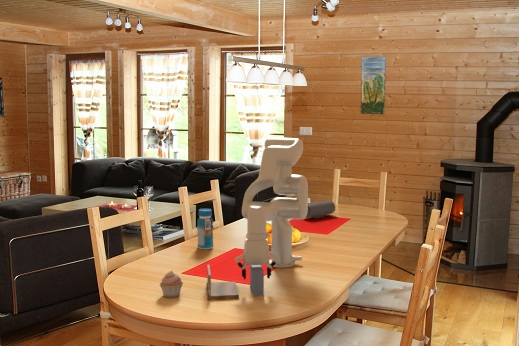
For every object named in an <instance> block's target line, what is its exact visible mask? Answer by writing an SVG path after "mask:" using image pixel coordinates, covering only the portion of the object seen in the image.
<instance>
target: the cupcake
mask: <svg viewBox="0 0 519 346" xmlns="http://www.w3.org/2000/svg"><path fill="white" fill-rule="evenodd" d="M183 284H184V282H182V278H181V277H180V276H179V275H178V274H176V273H174V272H173V270H170V271H168V272H167V273H166V274H165V275H164V276H163V277H162V279H161V282H160V283H159V287H160V288H161V291H162V295H163V296H164V297H165V298H169V299H170V298H171V299H173V298H174V299H175V298H177V297H179V296H180V294H181V292H182V291H181V290H182V287H183Z"/></svg>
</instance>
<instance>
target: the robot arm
mask: <svg viewBox="0 0 519 346" xmlns="http://www.w3.org/2000/svg"><path fill="white" fill-rule="evenodd" d="M303 153H304V142H303V141H302V140H301V139H300V138H298V137H297V138H296V137H269V138H267V139H265V141H264V149H263V151H262V155H261V156H262V157H261V162H260V167H259V172H258V177H257V178H256V179H255V180H254V181H253V182H252V183H251V184H250V185H249V187H248V188H247V189H246V191H245V193H244V196H243V199H242V200H243V201H242V206H241V215H242V217H243V218H244V219H246V220H247V221H246V223H247V224H246V225H247V228H246V229H247V233H246V234H247V238H245V239H244V247H243V253H242V254H239V255H238V256H236V257H235V258H234V261H235V262H236V264H237V265H238V267H239V268H240V269H241V277H242V278H243V280H246V279H247V269H246V268H247V267H248V266H250V265H261V266H264V265H266V266H267V267H266V277H267V279H271V276H272V269H273V268H276V269H277V268H278V269H280V268H281V269H285V268H291V267H294V266H296V265H295V264H296V261H302V260H303V258H302V256H299V255H293V228H292V227H293V226H292V224H291V223H290V221H289V219H291V220H304V219H306V216H307V212H308V204H309V199H308V198H309V186H308V185H309V183H308V179H307V178H306V176H305V175H302V174H293V173H292V167H293V166H295V165H296V164H297V163H298V161H299V160H300V158H301V157H302V155H303ZM271 187H273V193H274V194H277V195H281V197H280V196H279V197H274V198H272V199H271V200H270V202H269V201H268V202H266V201H265V202H264V201H253V199H254V198H255V196H256V195H257V194H258V193H259V192H261V191H264V190H265V189H268V188H271ZM282 196H294V197H282ZM270 221H271V234H270V233H269V232H267V222H270ZM270 235H271V241H270V242H271V245H269V240H268V238H269V237H270ZM269 246H271V247H269ZM270 249H271V252H270ZM242 259H243V262H240V260H242Z"/></svg>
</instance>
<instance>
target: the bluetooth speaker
mask: <svg viewBox="0 0 519 346" xmlns="http://www.w3.org/2000/svg"><path fill="white" fill-rule="evenodd" d="M335 211H336V205H335V203H334V201H332V200H323V201H317V202H311V203H308V212H307V216H306V217H305V219H307V218H311V219H320V218H324V217H325V218H326V216H327V215H330V214H333V213H335Z"/></svg>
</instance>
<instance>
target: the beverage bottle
mask: <svg viewBox="0 0 519 346" xmlns="http://www.w3.org/2000/svg"><path fill="white" fill-rule="evenodd" d="M212 211H213V210H212V209H211V208H200V209H198V216H199V218H198V219H197V222H196V223H197V224H196V225H197V226H196V230H197V248H198V249H200V250H210V249H213V248H214V225H213V224H214V220H213V218H212V215H213V212H212Z"/></svg>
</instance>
